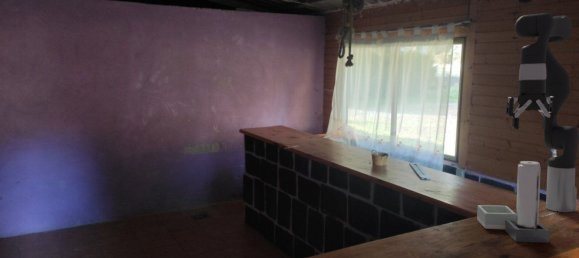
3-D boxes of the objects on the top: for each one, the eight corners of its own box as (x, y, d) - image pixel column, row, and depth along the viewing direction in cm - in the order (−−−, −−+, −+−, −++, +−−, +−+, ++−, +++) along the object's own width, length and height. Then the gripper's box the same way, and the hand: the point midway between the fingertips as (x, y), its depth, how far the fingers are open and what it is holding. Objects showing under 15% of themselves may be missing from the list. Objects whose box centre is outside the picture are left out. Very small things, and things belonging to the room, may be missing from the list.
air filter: (532, 233, 146) (535, 160, 144) (541, 240, 140) (544, 164, 137) (512, 233, 147) (514, 160, 144) (520, 240, 141) (523, 164, 138)
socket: (536, 231, 148) (537, 220, 147) (549, 242, 138) (549, 230, 137) (505, 231, 149) (505, 219, 149) (515, 241, 139) (516, 229, 139)
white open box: (506, 220, 160) (506, 205, 160) (515, 229, 150) (516, 214, 150) (477, 219, 162) (477, 205, 161) (484, 228, 152) (485, 213, 151)
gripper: (551, 78, 141) (549, 127, 142) (504, 79, 143) (502, 128, 145) (562, 77, 133) (559, 130, 135) (512, 79, 135) (510, 130, 137)
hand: (530, 129), depth 140 cm, fingers open, 8 cm apart
